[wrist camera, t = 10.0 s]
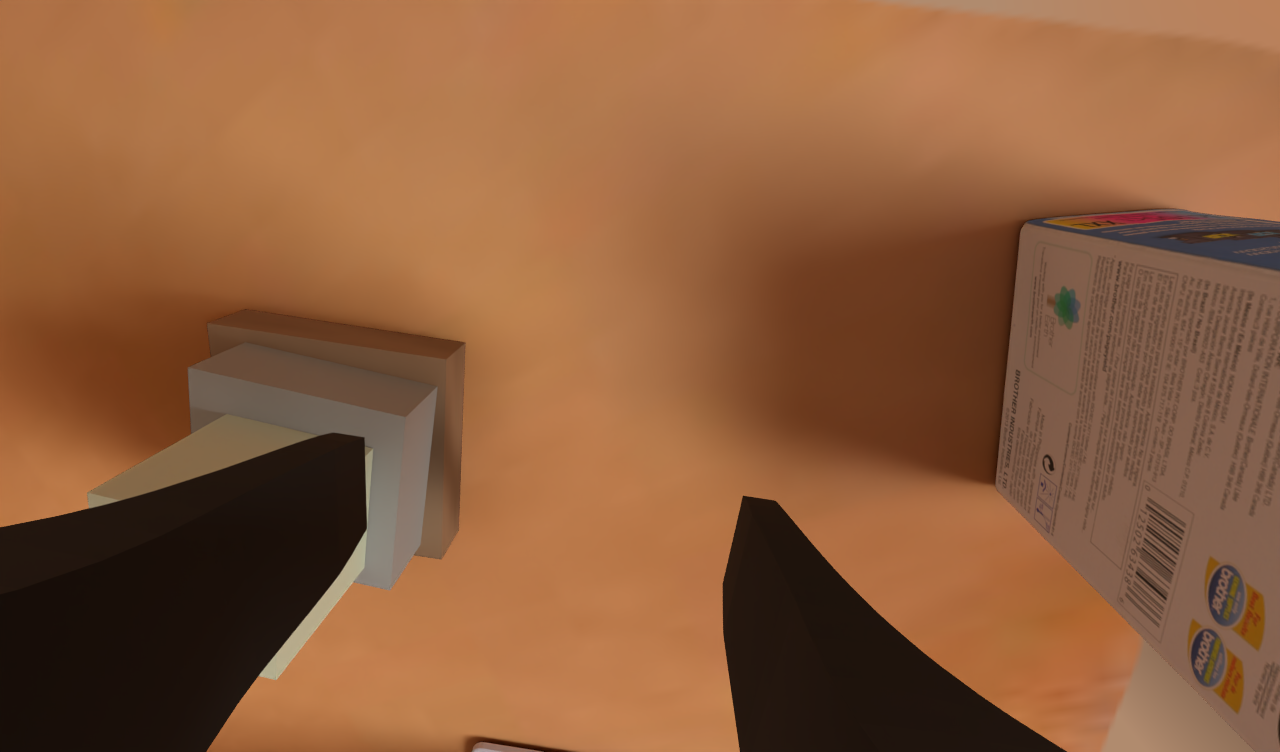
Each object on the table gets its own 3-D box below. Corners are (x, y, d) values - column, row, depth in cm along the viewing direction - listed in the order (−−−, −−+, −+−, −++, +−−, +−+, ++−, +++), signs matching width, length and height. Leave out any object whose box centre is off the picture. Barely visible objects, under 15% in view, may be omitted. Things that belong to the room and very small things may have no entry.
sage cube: (364, 567, 20) (276, 679, 15) (230, 535, 20) (105, 639, 15) (373, 448, 18) (277, 537, 14) (227, 413, 18) (87, 492, 14)
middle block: (420, 544, 22) (390, 590, 20) (248, 505, 22) (197, 547, 20) (437, 386, 20) (405, 417, 18) (245, 342, 20) (187, 367, 18)
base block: (464, 521, 25) (441, 559, 23) (274, 491, 25) (231, 526, 23) (471, 337, 22) (446, 359, 20) (256, 305, 22) (206, 323, 20)
